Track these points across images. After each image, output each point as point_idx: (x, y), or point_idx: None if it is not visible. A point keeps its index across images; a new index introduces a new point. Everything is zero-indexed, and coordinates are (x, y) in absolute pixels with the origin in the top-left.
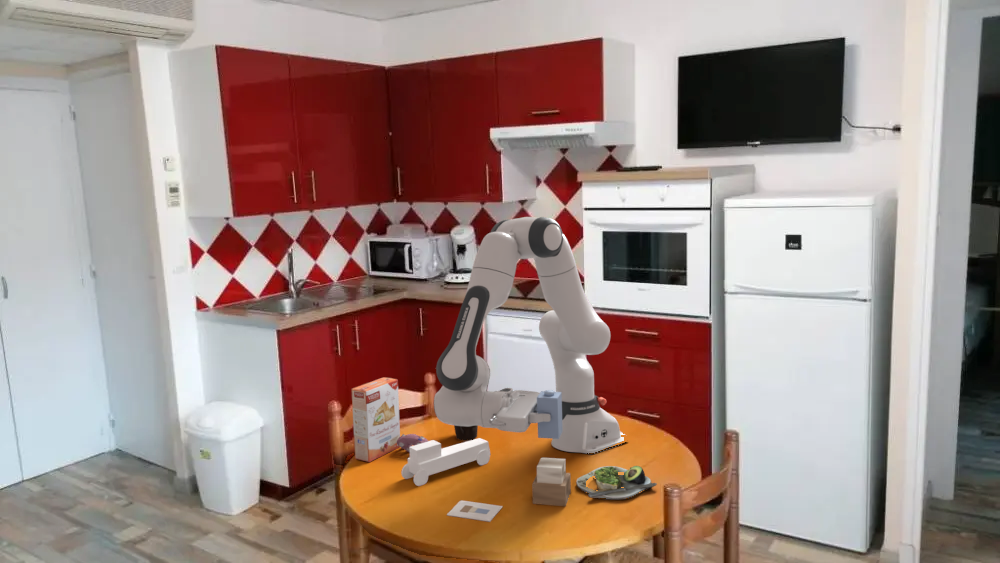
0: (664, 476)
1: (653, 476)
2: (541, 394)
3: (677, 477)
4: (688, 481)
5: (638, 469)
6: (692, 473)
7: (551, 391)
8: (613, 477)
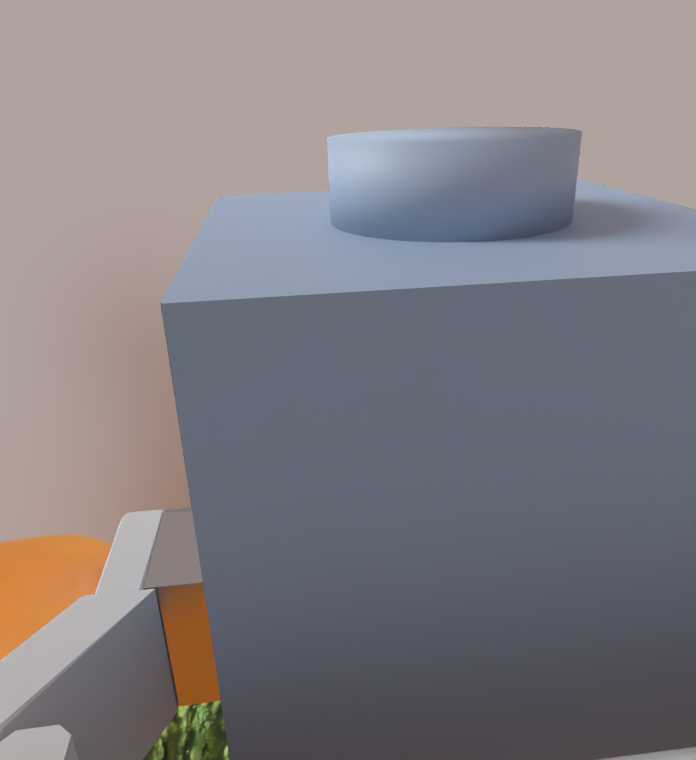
0: (32, 606)
1: (25, 640)
2: (525, 257)
3: (49, 570)
4: (91, 540)
5: None
6: (16, 540)
7: (430, 130)
8: (173, 719)
